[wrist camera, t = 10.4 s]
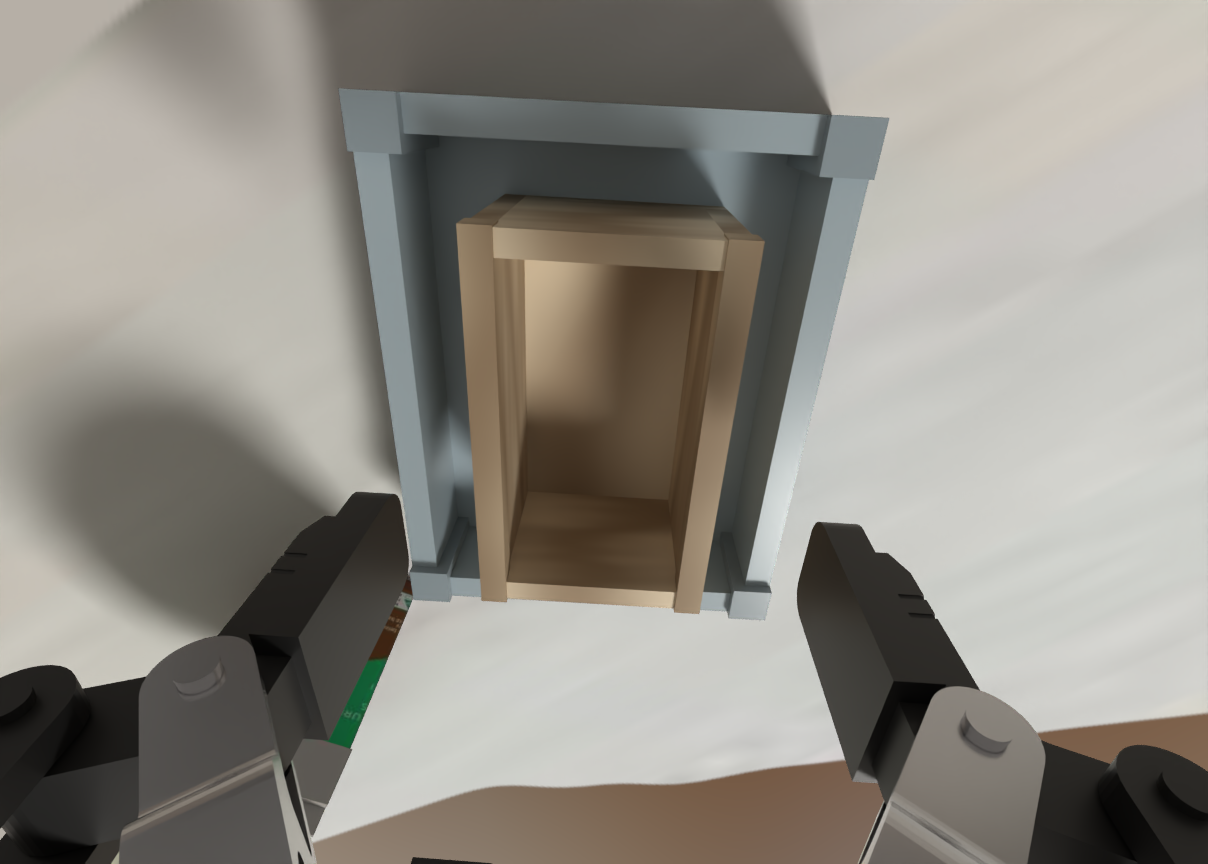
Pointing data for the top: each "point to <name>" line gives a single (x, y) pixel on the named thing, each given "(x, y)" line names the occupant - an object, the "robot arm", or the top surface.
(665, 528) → the small crate
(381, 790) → the top surface
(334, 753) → the food container
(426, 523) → the crate
